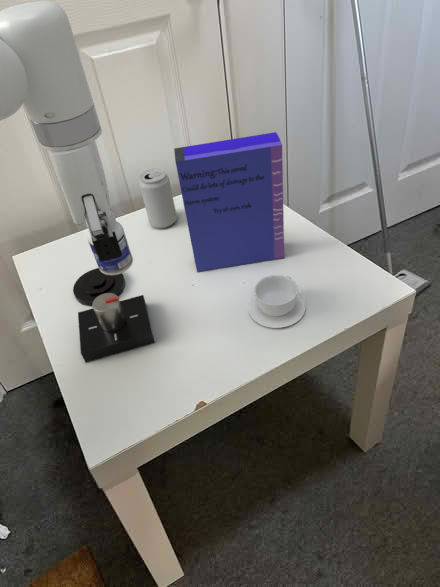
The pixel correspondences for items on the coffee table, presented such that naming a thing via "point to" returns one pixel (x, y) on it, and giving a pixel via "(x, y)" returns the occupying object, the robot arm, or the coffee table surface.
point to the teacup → (276, 302)
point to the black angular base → (110, 343)
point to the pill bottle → (126, 259)
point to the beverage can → (158, 198)
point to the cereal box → (233, 200)
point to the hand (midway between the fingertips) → (109, 244)
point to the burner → (97, 286)
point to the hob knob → (109, 312)
